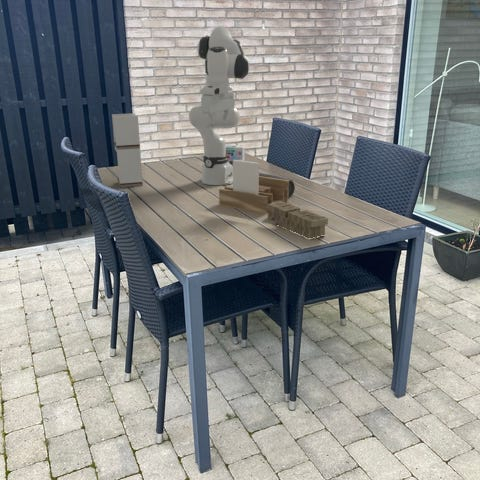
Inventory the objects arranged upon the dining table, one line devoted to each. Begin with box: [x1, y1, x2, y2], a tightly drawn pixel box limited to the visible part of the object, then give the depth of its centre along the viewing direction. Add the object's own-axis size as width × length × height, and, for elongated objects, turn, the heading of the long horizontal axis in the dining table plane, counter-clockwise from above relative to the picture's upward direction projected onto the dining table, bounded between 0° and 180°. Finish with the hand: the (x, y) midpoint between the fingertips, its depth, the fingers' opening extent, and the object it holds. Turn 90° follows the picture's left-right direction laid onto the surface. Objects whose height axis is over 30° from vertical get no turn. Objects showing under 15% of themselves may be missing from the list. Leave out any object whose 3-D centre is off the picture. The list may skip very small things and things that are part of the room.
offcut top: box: [259, 186, 271, 194], centre depth 229 cm, size 6×14×2 cm, turn 55°
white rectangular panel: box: [232, 160, 260, 195], centre depth 222 cm, size 2×12×20 cm, turn 57°
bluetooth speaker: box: [259, 172, 296, 198], centre depth 247 cm, size 23×9×10 cm, turn 47°
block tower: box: [267, 200, 329, 238], centre depth 203 cm, size 8×8×29 cm
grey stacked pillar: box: [111, 113, 144, 188], centre depth 263 cm, size 11×11×35 cm
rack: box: [218, 176, 290, 215], centre depth 229 cm, size 20×24×12 cm
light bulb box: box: [226, 144, 245, 166], centre depth 313 cm, size 11×7×11 cm, turn 80°
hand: (219, 121), depth 223 cm, fingers open, 8 cm apart
